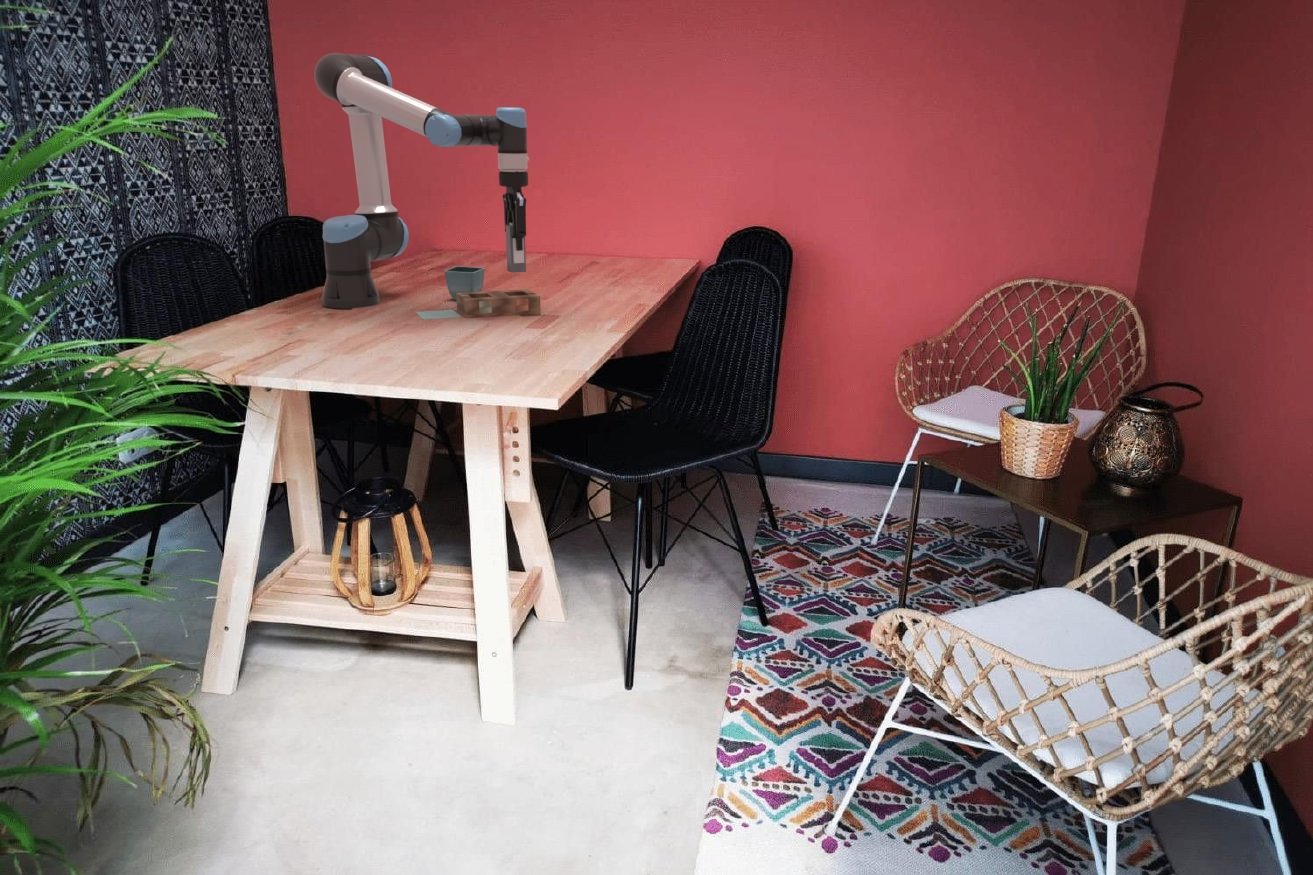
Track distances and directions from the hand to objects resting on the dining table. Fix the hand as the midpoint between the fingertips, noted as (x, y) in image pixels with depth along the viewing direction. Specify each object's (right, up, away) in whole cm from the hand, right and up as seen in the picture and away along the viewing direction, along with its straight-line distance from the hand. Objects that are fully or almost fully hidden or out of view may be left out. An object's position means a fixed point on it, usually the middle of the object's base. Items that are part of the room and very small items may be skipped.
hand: (516, 261), depth 250 cm
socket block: (-5, -13, +3) cm, 15 cm away
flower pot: (-17, -8, +18) cm, 26 cm away
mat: (-20, -15, -3) cm, 25 cm away
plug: (0, -2, +1) cm, 3 cm away
